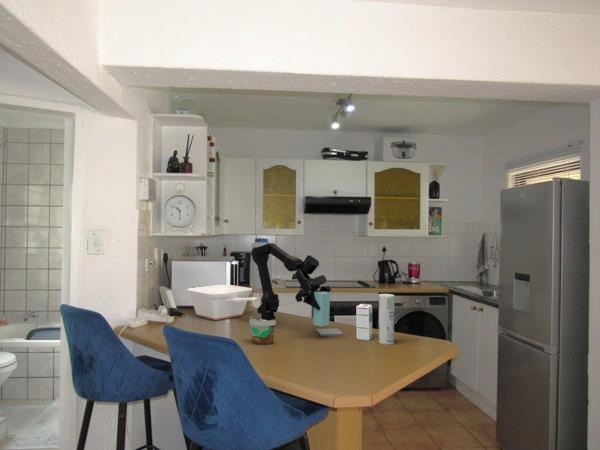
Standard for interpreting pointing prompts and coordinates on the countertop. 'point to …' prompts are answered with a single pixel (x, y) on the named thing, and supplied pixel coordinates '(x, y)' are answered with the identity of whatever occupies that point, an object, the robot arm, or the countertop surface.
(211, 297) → the pot
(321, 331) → the coaster
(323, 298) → the block
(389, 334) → the spray can
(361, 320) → the syrup box
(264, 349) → the countertop surface
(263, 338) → the food container
